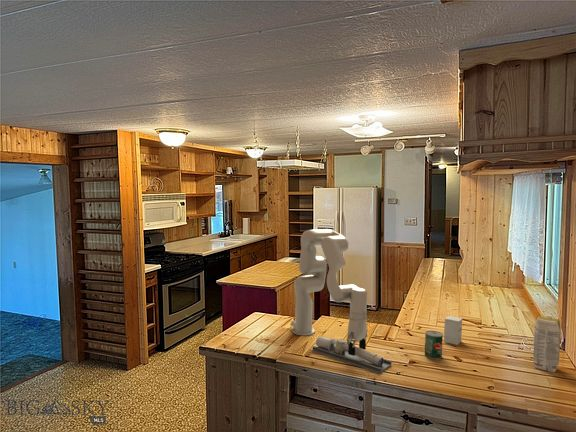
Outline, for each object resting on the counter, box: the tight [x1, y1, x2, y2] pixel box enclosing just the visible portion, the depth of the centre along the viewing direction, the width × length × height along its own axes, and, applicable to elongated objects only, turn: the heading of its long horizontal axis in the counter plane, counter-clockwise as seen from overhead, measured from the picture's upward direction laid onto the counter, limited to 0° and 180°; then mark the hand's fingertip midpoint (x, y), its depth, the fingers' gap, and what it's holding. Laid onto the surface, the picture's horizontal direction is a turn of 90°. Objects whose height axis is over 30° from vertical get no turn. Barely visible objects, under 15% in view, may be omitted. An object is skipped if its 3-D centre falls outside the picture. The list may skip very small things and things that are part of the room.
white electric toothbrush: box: [334, 338, 385, 367], centre depth 179 cm, size 5×7×25 cm
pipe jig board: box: [312, 335, 392, 375], centre depth 181 cm, size 36×11×7 cm, turn 50°
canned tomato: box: [424, 330, 444, 360], centre depth 186 cm, size 8×8×11 cm
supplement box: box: [443, 315, 463, 346], centre depth 205 cm, size 7×7×13 cm
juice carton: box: [532, 314, 562, 373], centre depth 174 cm, size 9×8×24 cm
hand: (357, 351), depth 179 cm, fingers open, 9 cm apart
